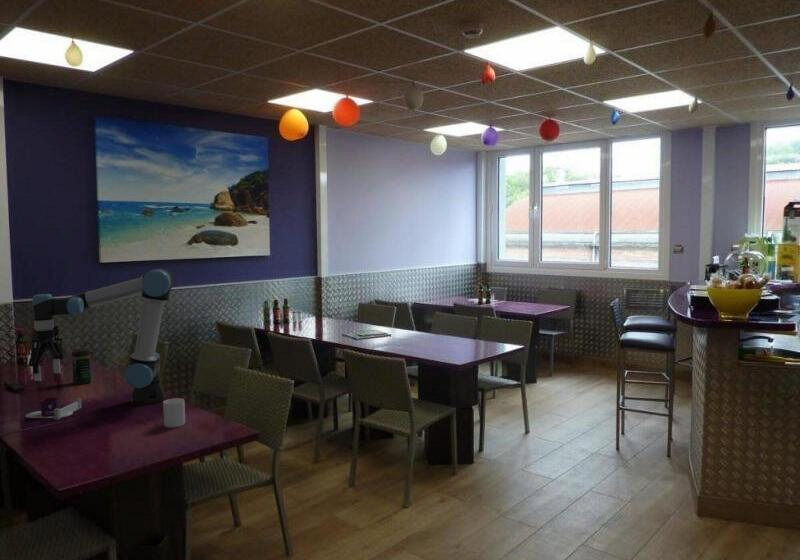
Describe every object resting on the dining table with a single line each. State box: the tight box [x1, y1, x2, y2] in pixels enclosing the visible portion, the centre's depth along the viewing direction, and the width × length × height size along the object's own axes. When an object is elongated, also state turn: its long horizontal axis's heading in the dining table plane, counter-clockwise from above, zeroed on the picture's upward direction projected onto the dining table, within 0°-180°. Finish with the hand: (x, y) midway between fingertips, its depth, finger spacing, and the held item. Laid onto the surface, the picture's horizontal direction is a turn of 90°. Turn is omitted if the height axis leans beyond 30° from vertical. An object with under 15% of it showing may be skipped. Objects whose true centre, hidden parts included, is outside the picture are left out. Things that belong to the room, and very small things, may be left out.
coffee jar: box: [71, 348, 92, 385], centre depth 320 cm, size 10×8×19 cm
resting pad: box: [25, 410, 74, 419], centre depth 265 cm, size 20×9×1 cm, turn 87°
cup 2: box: [162, 397, 186, 429], centre depth 251 cm, size 8×12×10 cm
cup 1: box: [40, 397, 60, 417], centre depth 265 cm, size 7×10×7 cm
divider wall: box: [53, 397, 82, 421], centre depth 266 cm, size 2×18×4 cm, turn 178°
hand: (47, 376), depth 263 cm, fingers open, 13 cm apart
